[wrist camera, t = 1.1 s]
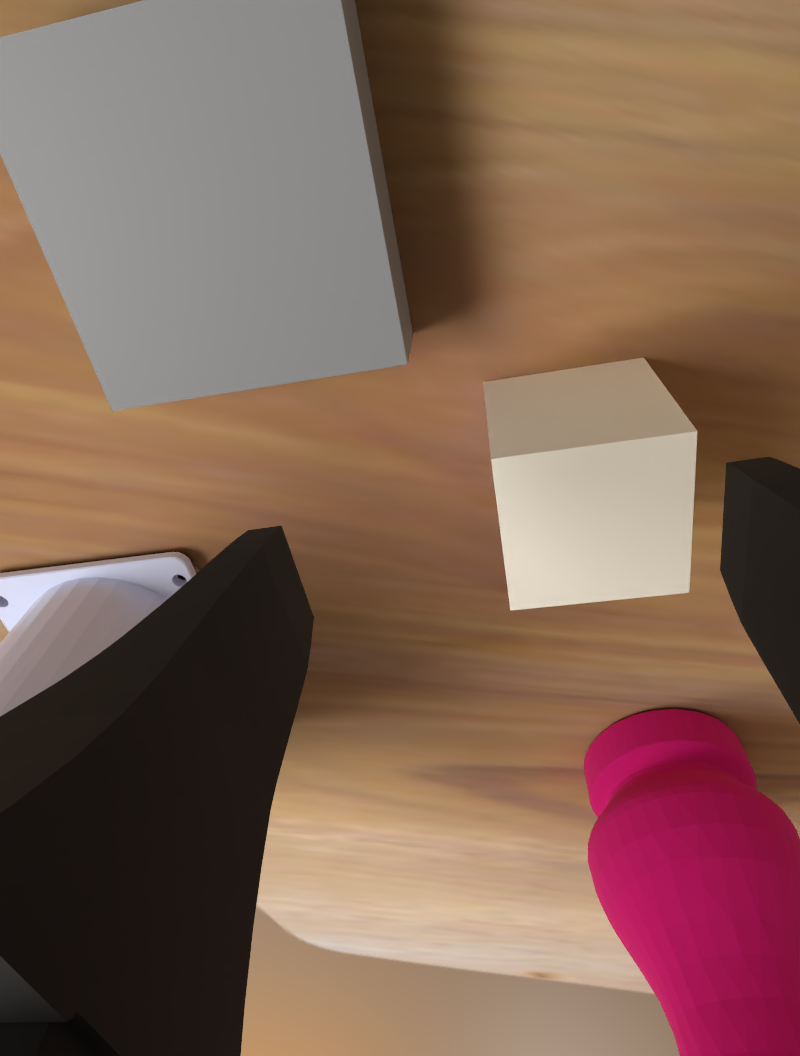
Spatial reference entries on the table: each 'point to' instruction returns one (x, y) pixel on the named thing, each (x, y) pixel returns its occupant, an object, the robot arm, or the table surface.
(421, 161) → the table surface
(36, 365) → the table surface
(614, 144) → the table surface
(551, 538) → the cream block
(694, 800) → the pepper mill
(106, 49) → the gray base block
